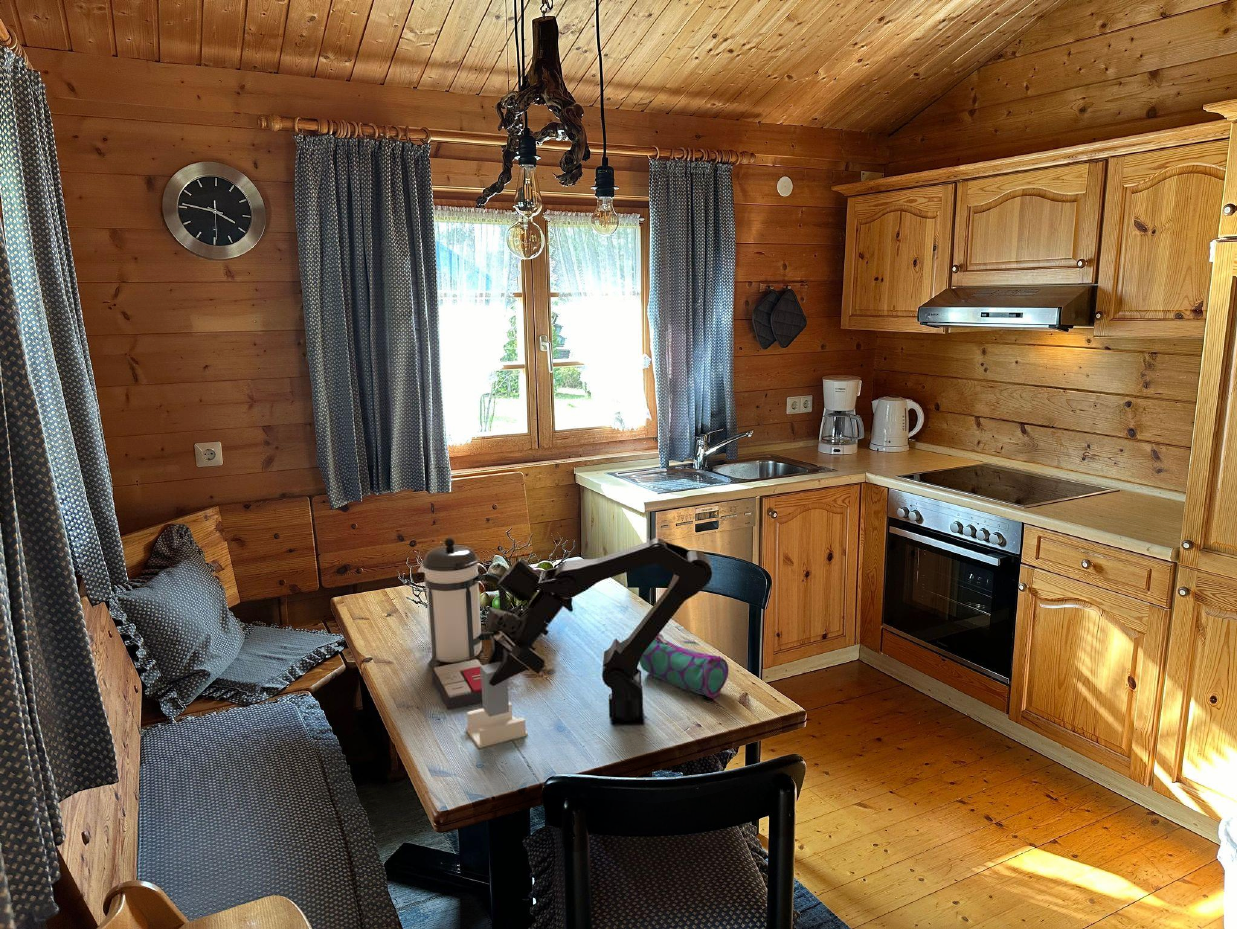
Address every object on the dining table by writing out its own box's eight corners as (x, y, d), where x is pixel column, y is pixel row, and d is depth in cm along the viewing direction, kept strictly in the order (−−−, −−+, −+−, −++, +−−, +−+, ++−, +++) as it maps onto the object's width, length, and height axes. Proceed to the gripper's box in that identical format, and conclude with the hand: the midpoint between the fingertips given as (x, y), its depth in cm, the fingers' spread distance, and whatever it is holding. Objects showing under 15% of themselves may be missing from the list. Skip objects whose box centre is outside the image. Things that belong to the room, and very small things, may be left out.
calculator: (447, 696, 183) (431, 665, 196) (448, 714, 184) (432, 682, 197) (498, 685, 187) (478, 656, 200) (498, 703, 188) (479, 673, 201)
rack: (512, 717, 180) (511, 701, 179) (528, 736, 172) (527, 719, 171) (465, 729, 175) (464, 712, 175) (479, 749, 168) (478, 731, 167)
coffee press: (448, 680, 198) (439, 552, 192) (413, 658, 209) (404, 537, 203) (511, 657, 209) (505, 536, 203) (475, 638, 221) (468, 523, 215)
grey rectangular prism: (502, 703, 175) (499, 661, 174) (509, 711, 172) (506, 669, 170) (482, 708, 174) (480, 665, 172) (489, 716, 170) (486, 673, 168)
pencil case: (634, 676, 198) (633, 636, 196) (661, 664, 204) (660, 625, 202) (705, 706, 183) (705, 663, 181) (732, 692, 189) (732, 650, 187)
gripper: (492, 580, 178) (443, 642, 175) (526, 608, 162) (472, 677, 159) (531, 609, 183) (483, 670, 180) (567, 640, 167) (515, 707, 164)
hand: (487, 680), depth 171 cm, fingers closed on grey rectangular prism, 4 cm apart
